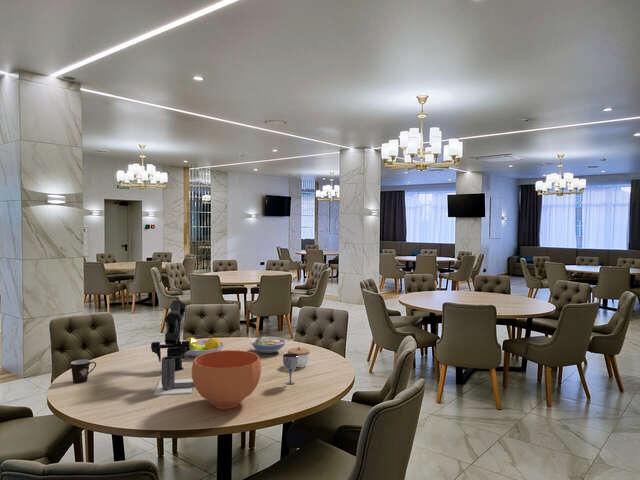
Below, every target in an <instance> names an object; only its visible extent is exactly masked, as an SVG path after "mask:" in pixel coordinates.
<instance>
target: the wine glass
mask: <svg viewBox="0 0 640 480" xmlns="http://www.w3.org/2000/svg"><path fill="white" fill-rule="evenodd" d="M282 363H283V367H284V368H285V369H286V371H287V372H288V374H289V381H288V383H287V382H284V383H285V384H286V385H294V384H295V383H296V382H294V381H292V375H293V372H294V370H296V367H297V365H298V354H295V353H288V352H287V353H286V352H285V353H284V354H282ZM293 382H294V383H293Z"/></svg>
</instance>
